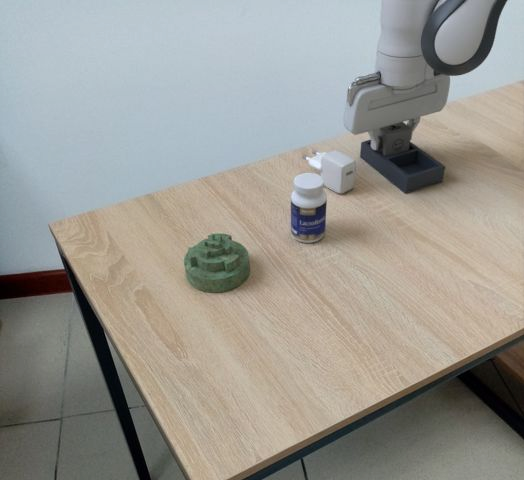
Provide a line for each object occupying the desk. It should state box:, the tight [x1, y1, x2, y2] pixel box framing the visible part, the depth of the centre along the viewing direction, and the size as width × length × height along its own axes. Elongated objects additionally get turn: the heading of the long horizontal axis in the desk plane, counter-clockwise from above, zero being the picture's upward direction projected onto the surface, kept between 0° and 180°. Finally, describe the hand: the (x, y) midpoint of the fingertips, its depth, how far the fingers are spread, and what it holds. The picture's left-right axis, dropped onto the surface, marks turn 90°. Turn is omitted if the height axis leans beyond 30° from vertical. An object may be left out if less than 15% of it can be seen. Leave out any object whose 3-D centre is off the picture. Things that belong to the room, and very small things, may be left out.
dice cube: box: [377, 121, 412, 157], centre depth 100 cm, size 5×5×5 cm
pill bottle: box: [290, 172, 328, 244], centre depth 85 cm, size 6×6×10 cm
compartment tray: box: [359, 139, 446, 194], centre depth 100 cm, size 8×15×3 cm, turn 25°
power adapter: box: [301, 149, 357, 195], centre depth 97 cm, size 11×5×6 cm, turn 38°
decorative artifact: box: [183, 232, 251, 294], centre depth 81 cm, size 10×7×10 cm
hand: (391, 144), depth 101 cm, fingers closed on dice cube, 5 cm apart
